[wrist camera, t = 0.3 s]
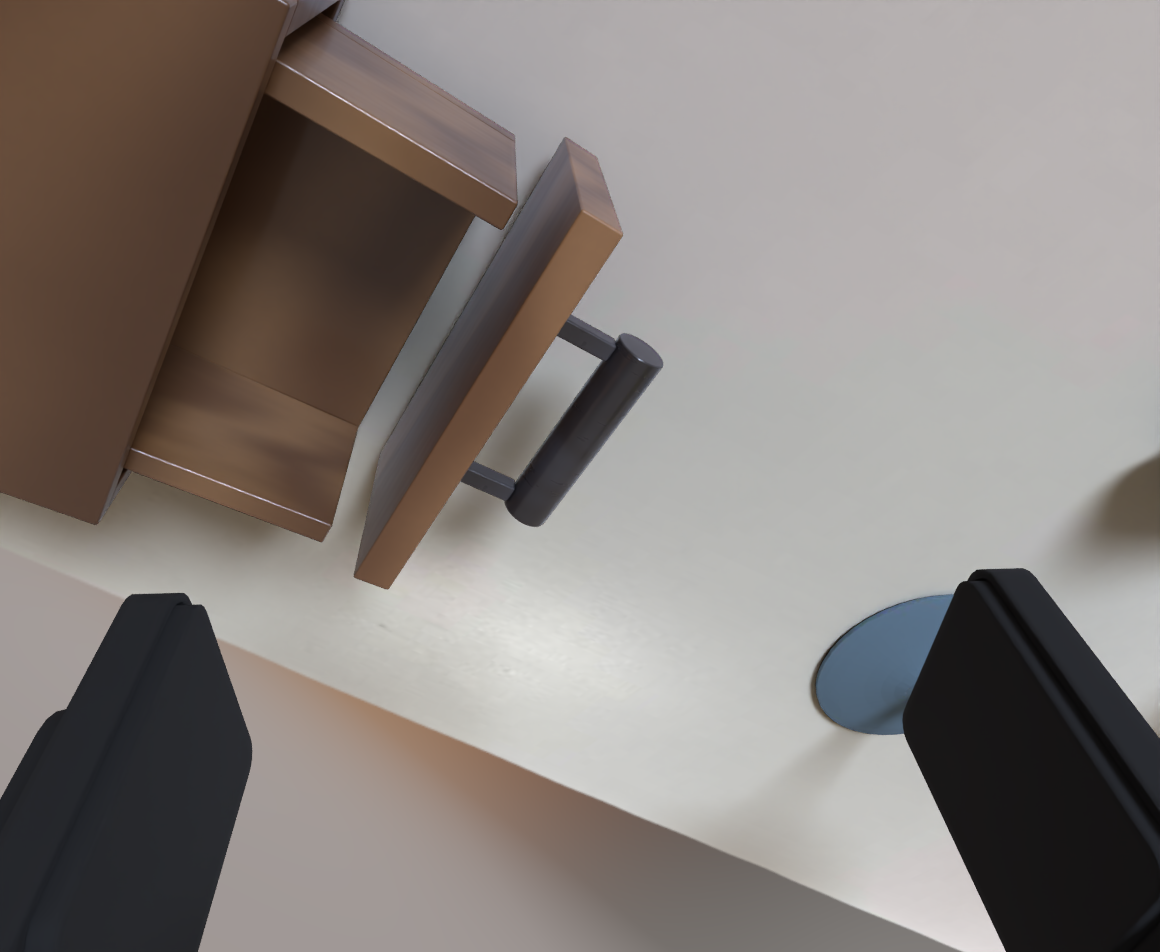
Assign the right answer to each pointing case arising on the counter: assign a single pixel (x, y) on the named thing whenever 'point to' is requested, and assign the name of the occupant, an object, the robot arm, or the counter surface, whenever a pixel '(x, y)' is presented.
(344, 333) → the drawer
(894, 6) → the counter surface
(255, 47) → the cabinet
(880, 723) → the cocktail glass
